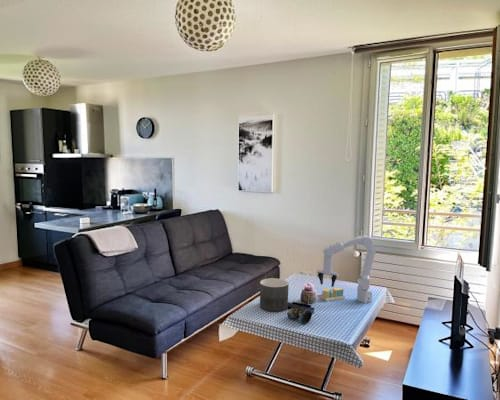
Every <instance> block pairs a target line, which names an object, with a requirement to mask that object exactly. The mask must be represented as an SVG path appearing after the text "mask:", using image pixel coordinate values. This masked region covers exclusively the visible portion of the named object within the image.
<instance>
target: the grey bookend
mask: <svg viewBox="0 0 500 400" xmlns="http://www.w3.org/2000/svg"><path fill="white" fill-rule="evenodd" d="M345 296H346V295H343V296H338V297H332V292H331V298H326V300H323V299H322V294H318V295H317V296H316V297H317V298H320V299H321V300H323V301H324V302H331V301H336V300H344V299H345V298H346V297H345Z"/></svg>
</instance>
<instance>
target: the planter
mask: <svg viewBox="0 0 500 400" xmlns="http://www.w3.org/2000/svg"><path fill="white" fill-rule="evenodd" d="M259 285H260V286H259V308H260V309H261V310H263V311H265V312H271V313H277V312H278V313H279V312H284V311H286V310H287V309H288V307H289V306H288V305H289V281H287V280H286V279H283V278H277V277H276V278H274V277H271V278H264V279H261V280H260V281H259Z"/></svg>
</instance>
